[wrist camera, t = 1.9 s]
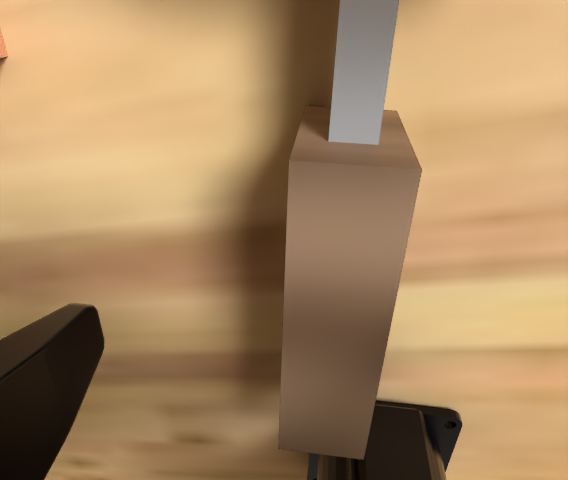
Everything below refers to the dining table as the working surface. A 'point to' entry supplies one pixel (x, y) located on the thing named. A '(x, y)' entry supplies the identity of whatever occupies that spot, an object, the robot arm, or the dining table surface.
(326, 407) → the scraper
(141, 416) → the dining table surface
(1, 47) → the tile
